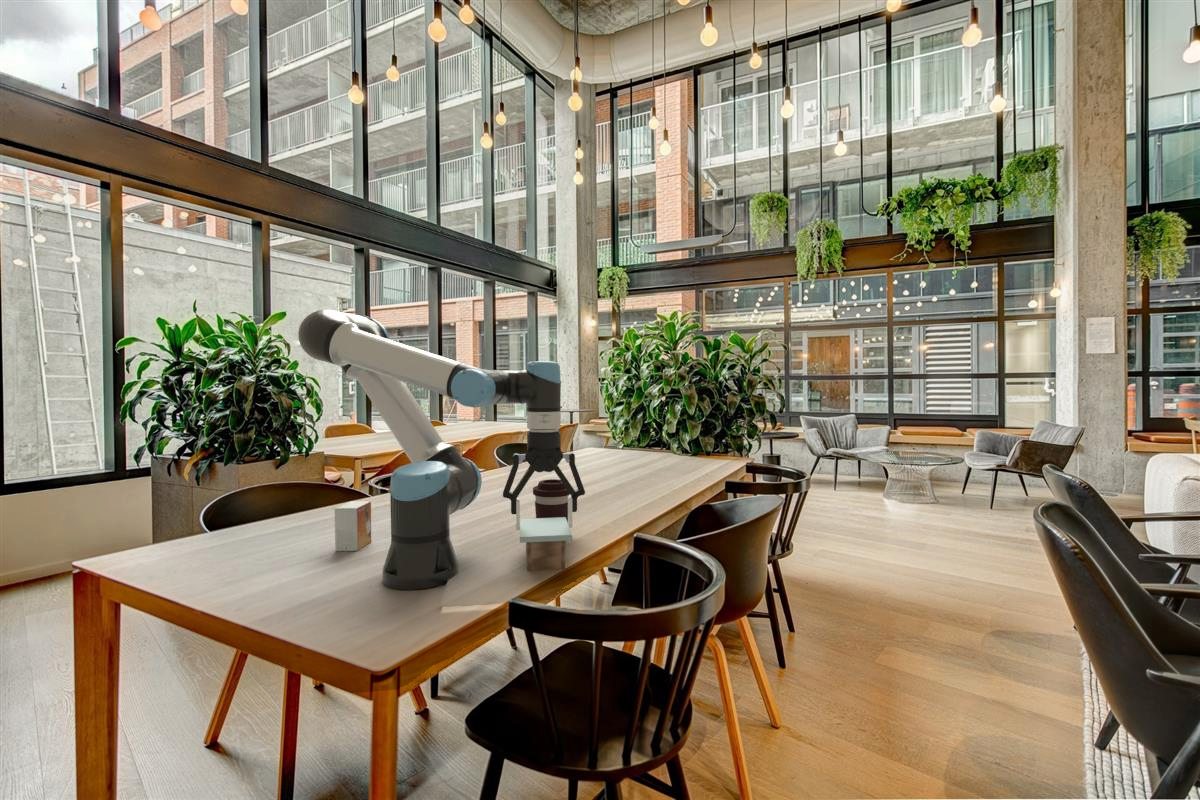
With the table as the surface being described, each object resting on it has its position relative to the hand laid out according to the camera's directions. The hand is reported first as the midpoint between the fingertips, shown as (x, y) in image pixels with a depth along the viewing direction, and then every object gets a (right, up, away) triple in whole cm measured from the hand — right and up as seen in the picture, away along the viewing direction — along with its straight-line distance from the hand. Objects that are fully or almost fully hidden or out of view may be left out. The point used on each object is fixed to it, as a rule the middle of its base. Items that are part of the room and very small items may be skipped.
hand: (544, 527), depth 123 cm
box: (0, -8, 0) cm, 8 cm away
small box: (-48, -8, +12) cm, 50 cm away
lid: (0, -1, 0) cm, 1 cm away
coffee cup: (0, -8, +19) cm, 20 cm away
